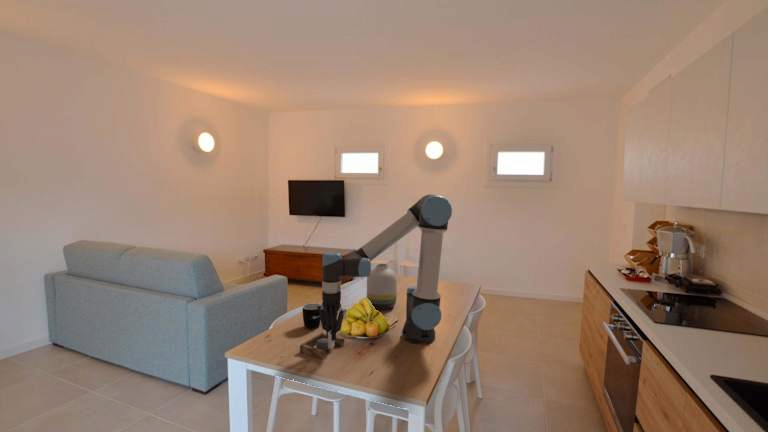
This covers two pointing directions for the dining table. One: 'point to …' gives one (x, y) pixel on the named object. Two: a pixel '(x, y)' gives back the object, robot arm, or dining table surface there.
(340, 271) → the robot arm
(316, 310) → the mug
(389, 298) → the vase
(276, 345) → the dining table surface
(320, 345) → the puck
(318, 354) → the corral
